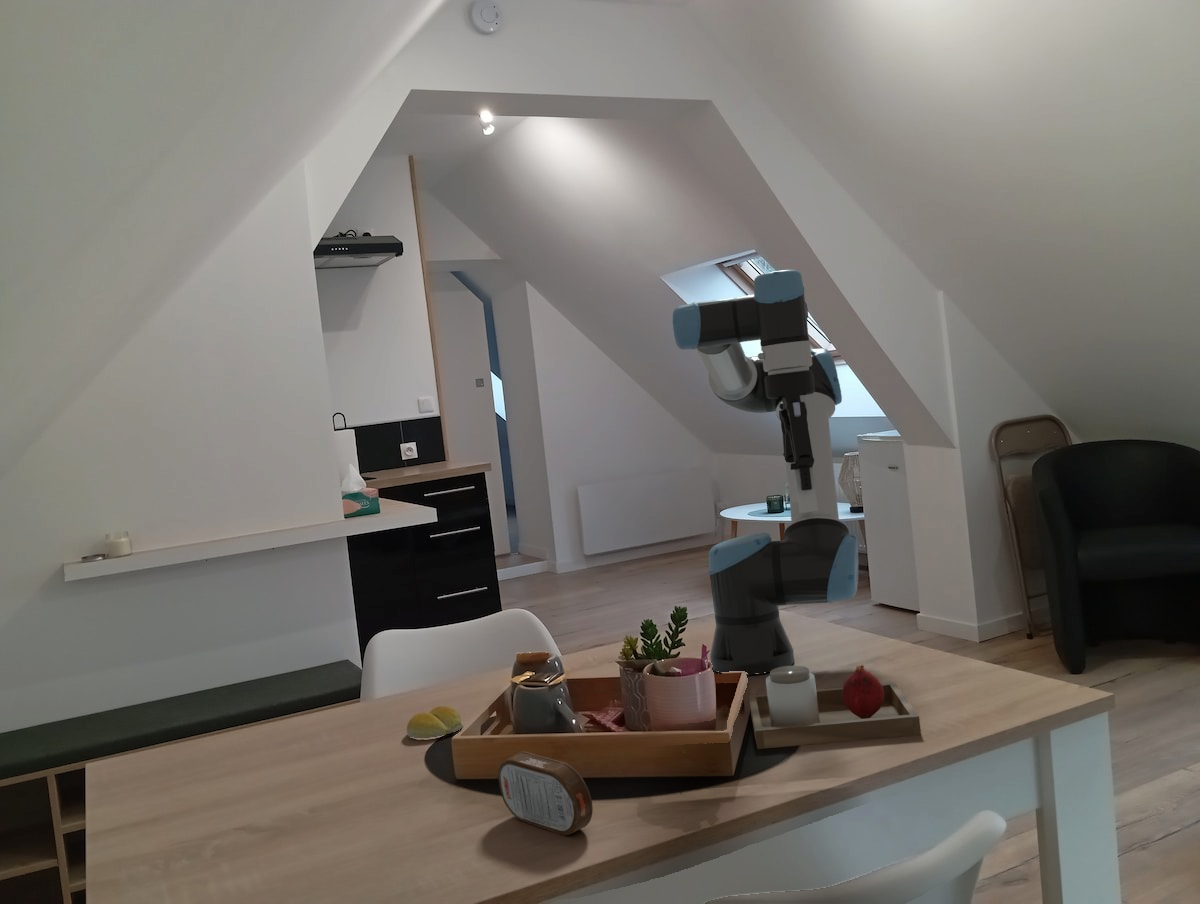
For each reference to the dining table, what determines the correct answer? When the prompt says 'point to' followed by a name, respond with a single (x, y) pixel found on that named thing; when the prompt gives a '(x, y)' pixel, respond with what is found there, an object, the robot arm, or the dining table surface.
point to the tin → (545, 793)
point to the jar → (792, 696)
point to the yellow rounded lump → (434, 723)
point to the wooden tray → (837, 721)
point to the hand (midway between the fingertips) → (803, 506)
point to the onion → (862, 693)
